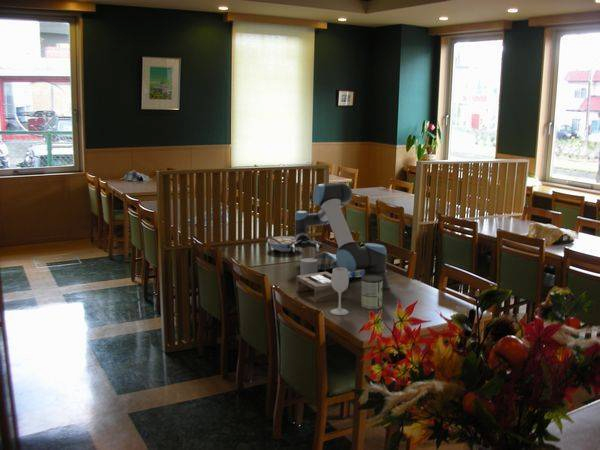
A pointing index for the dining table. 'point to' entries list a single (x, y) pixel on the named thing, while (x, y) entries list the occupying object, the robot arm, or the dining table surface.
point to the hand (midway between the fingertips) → (306, 249)
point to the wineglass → (339, 287)
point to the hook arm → (319, 279)
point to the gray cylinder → (308, 266)
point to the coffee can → (371, 291)
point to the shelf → (319, 287)
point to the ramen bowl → (281, 243)
